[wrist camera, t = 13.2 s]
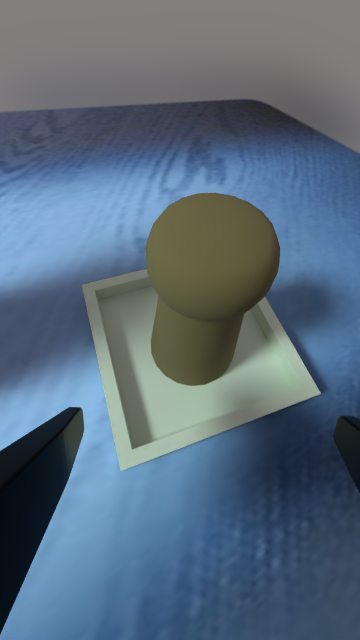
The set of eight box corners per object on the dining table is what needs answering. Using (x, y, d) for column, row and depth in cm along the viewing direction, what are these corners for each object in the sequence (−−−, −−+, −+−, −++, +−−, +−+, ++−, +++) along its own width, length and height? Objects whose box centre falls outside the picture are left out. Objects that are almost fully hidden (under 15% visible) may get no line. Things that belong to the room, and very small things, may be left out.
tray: (307, 399, 18) (321, 393, 16) (125, 469, 15) (120, 471, 14) (231, 260, 23) (236, 246, 21) (88, 297, 21) (81, 284, 19)
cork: (202, 295, 20) (233, 151, 11) (251, 356, 18) (346, 246, 8) (135, 331, 19) (98, 201, 9) (180, 404, 17) (195, 334, 7)
